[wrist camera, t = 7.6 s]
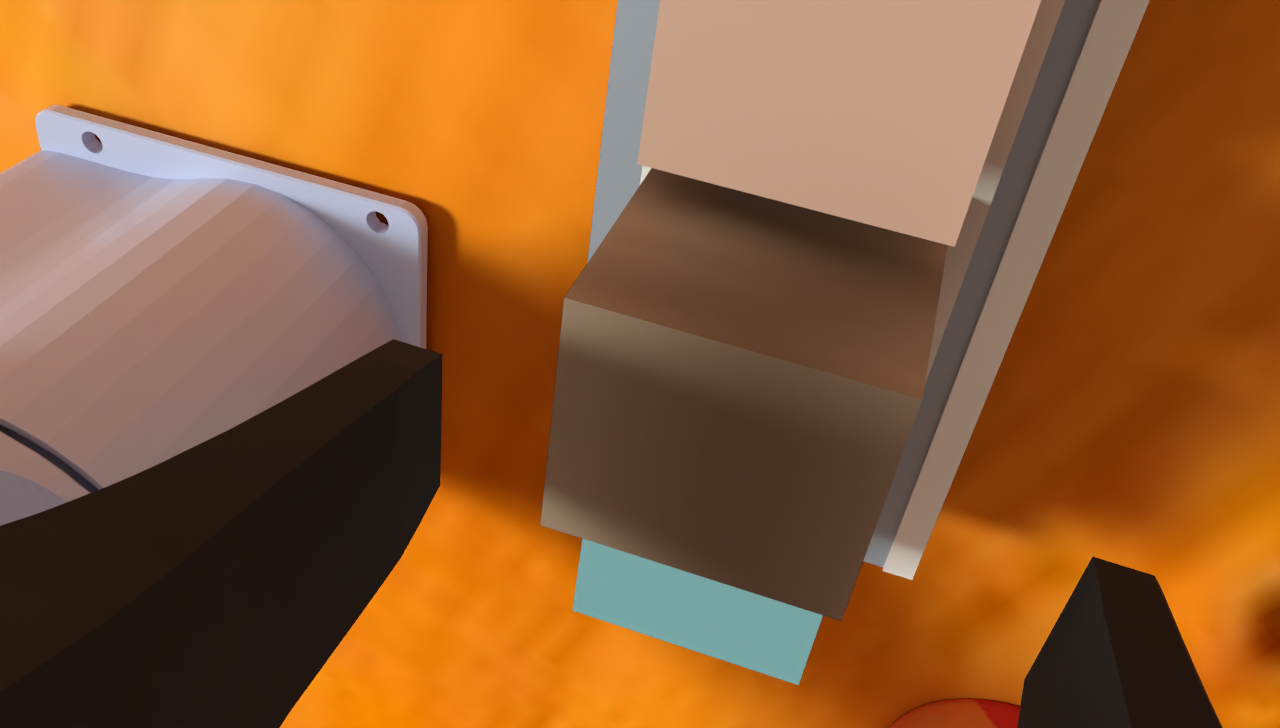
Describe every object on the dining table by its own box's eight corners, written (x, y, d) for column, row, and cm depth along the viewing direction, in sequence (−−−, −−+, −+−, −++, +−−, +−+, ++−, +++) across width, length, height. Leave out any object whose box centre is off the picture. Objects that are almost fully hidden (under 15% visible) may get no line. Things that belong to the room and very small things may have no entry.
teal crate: (617, 514, 21) (573, 610, 19) (644, 346, 19) (596, 436, 17) (823, 579, 21) (798, 685, 19) (879, 414, 18) (857, 516, 16)
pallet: (623, 453, 23) (487, 729, 18) (739, -275, 15) (557, -182, 10) (861, 525, 22) (797, 838, 17) (1120, -201, 14) (1158, -54, 9)
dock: (600, 400, 26) (561, 471, 24) (706, -375, 17) (658, -366, 15) (924, 496, 25) (912, 580, 22) (1229, -282, 15) (1255, -258, 13)
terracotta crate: (688, 90, 16) (637, 164, 14) (739, -218, 14) (685, -182, 12) (967, 160, 15) (954, 246, 13) (1073, -152, 13) (1076, -100, 11)
